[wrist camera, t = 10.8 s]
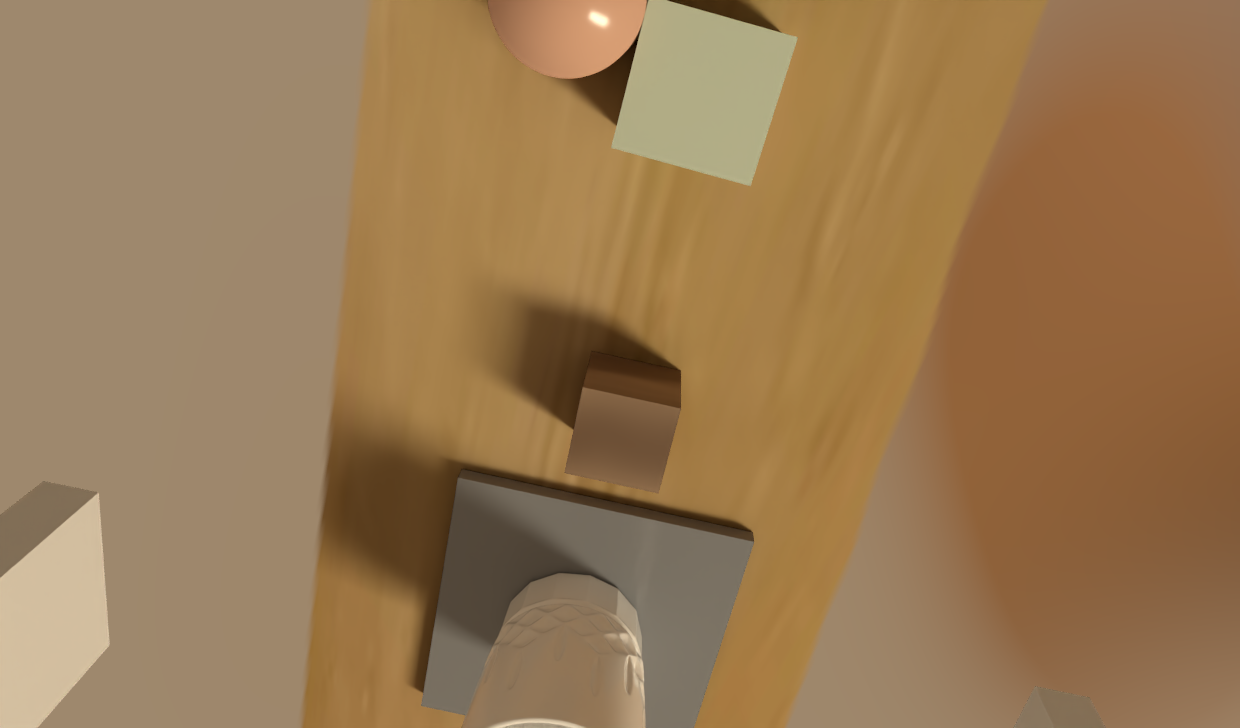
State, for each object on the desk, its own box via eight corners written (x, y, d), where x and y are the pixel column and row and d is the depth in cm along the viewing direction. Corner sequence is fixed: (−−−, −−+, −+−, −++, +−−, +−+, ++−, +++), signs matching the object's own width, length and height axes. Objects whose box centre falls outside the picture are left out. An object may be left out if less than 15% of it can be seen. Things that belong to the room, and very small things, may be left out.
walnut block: (592, 350, 39) (582, 387, 35) (680, 369, 39) (680, 408, 35) (575, 429, 40) (564, 472, 36) (660, 448, 40) (658, 493, 36)
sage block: (653, -4, 33) (649, -5, 28) (781, 32, 33) (798, 37, 29) (620, 128, 35) (611, 147, 30) (741, 161, 35) (750, 186, 30)
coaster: (461, 469, 41) (458, 477, 40) (752, 532, 41) (754, 541, 41) (425, 694, 46) (421, 705, 46) (682, 749, 47) (683, 761, 46)
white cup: (513, 542, 42) (465, 696, 32) (673, 585, 42) (671, 749, 33) (479, 667, 45) (427, 841, 35) (628, 706, 45) (615, 888, 36)
